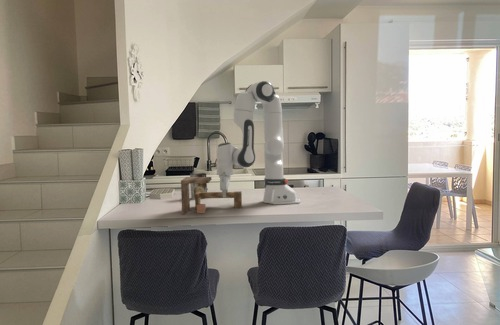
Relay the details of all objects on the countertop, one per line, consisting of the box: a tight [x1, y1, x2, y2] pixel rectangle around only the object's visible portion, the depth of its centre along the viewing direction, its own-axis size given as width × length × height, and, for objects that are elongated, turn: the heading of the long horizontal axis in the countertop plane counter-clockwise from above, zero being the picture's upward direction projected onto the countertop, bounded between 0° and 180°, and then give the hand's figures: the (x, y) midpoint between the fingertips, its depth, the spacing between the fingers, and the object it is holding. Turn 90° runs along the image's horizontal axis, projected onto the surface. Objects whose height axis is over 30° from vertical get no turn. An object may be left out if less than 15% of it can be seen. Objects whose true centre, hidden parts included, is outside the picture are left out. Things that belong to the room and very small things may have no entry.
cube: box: [196, 203, 206, 214], centre depth 216 cm, size 4×4×4 cm
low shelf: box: [180, 176, 212, 216], centre depth 216 cm, size 14×14×18 cm
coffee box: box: [189, 172, 208, 200], centre depth 258 cm, size 9×6×16 cm
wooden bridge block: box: [194, 191, 243, 210], centre depth 228 cm, size 26×9×8 cm, turn 88°
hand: (225, 196), depth 227 cm, fingers open, 7 cm apart
